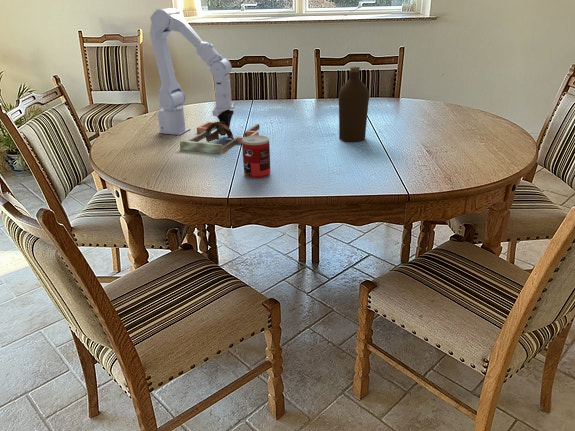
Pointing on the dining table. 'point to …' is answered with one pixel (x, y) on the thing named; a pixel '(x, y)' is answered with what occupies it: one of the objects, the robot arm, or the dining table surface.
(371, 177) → the dining table surface
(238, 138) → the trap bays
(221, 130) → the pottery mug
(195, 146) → the channel
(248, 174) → the canned food
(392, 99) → the dining table surface
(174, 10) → the robot arm
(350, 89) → the olive oil
